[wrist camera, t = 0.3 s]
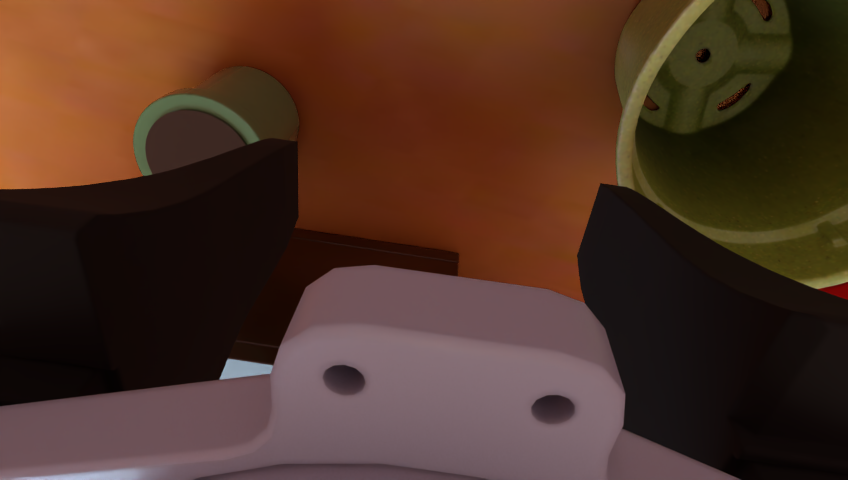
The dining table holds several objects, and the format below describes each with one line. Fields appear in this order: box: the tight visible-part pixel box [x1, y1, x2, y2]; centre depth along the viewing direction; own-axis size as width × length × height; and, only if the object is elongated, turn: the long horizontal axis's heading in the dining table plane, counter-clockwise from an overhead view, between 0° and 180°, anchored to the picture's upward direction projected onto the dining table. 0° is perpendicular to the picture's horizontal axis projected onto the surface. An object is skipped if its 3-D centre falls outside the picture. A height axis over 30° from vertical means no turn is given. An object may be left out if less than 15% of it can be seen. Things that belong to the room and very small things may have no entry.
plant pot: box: [614, 0, 848, 289], centre depth 16 cm, size 9×9×9 cm
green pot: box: [133, 66, 299, 176], centre depth 20 cm, size 5×5×5 cm
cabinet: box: [220, 229, 459, 380], centre depth 25 cm, size 14×12×9 cm
